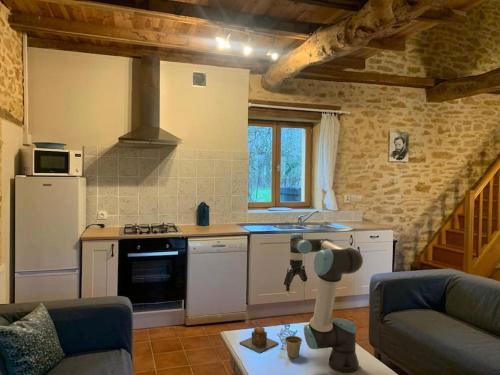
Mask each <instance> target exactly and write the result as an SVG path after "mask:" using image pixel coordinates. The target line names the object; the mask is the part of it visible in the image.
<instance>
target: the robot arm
mask: <svg viewBox="0 0 500 375" xmlns="http://www.w3.org/2000/svg"><path fill="white" fill-rule="evenodd" d="M289 236H290V237H289V240H290V241H289V243H290V244H289V245H290V246H289V247H290V248H289V254H290V255H289V265H290V268H287V269H286V275H285V278H284V282H283V285H284V286H285V287H286V288H285V291H286V295H285V296H286V297H288V298H292V283H293V280H294V277H296V276H297V275H298V277H299V278H300V290H299V292H302V293H305V292H306V290H305V289H306V288H305V287H306V282H308V274H307V272H306V269H305V267H306V266H305V265H303V264H304V263H303V258H304V254H305V255H307V254H309V253H316V254H315V256H314V259H313V265H314V266H313V269H314V272H315V274H316V276H317V278H318V279H319V280H318V286H317V293H316V298H315V305H314V311H313V316H312V317H311V318H310V319H309V324H308V323H306V324H304V327H303V335H304V339H305V343H306V345H307V347H308V348H309V349H311V350H320V349H328V348H329V349H330V348H331V352H330V354H329V357H328V367H329V368H331V369H332V370H334V371H336V372H340V373H344V374H345V373H346V374H349V373H355V372H357V371H358V370H359V367H360V365H359V364H360V362H359V359H358V355H357V353H356V350H357V349H356V348H357V346H356V343H357V340H356V339H357V327H356V324H355V323H354V322H353V321H351V320H349V319H346V318H343V317H342V318H340V317H334V318H332V316H333V311H334V310H333V309H334V304H335V298H336V292H337V288H338V283H339V282H341V281H342V278H343V275H348V274H354V273H356V272H359V270H360V269H361V268H362V266H363V262H364V260H363V256H362V253H361V252H360V251H359V250H357V249H355V248H352V247H346V246H345V247H344V246H342V245H340V244H338V243H335V242H334V241H333V239H332V238H309V239H306V238H304V235H303V234H302V233H299V232H294V233H291V234H290V235H289Z"/></svg>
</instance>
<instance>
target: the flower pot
mask: <svg viewBox="0 0 500 375" xmlns="http://www.w3.org/2000/svg"><path fill="white" fill-rule="evenodd" d="M284 341H285V344H286V352H287V356H288V357H289V358H298V357H299V356H300V350H301V344H302V342H303V338H301V337H299V336H296V335H288V336H286V337H284Z"/></svg>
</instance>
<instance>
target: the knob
mask: <svg viewBox="0 0 500 375" xmlns="http://www.w3.org/2000/svg"><path fill="white" fill-rule="evenodd" d="M267 334H268V332H267V331H265V328H264V327H263V326H256V327H254V329H253V331H251V337H252V343H254V344H256V345H259V346H260V345H262V344H265V343H267V338H268V335H267Z"/></svg>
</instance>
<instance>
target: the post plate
mask: <svg viewBox="0 0 500 375" xmlns="http://www.w3.org/2000/svg"><path fill="white" fill-rule="evenodd" d="M279 344H280V343H279V341H278V342H277V341H276V340H273V339H270V338H269V337H267V343H265V344H262V345H260V346H259V345H256V344H254V343H252V336H251V337H249V338H246V339H244V340H242V341H239V345H241V346H244V347H246V348H247V349H249V350H252V351H254V352H256V353H258V354H261V353H264V352H265V351H268V350H270V349H272V348H275V347H276V346H278V345H279Z"/></svg>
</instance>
